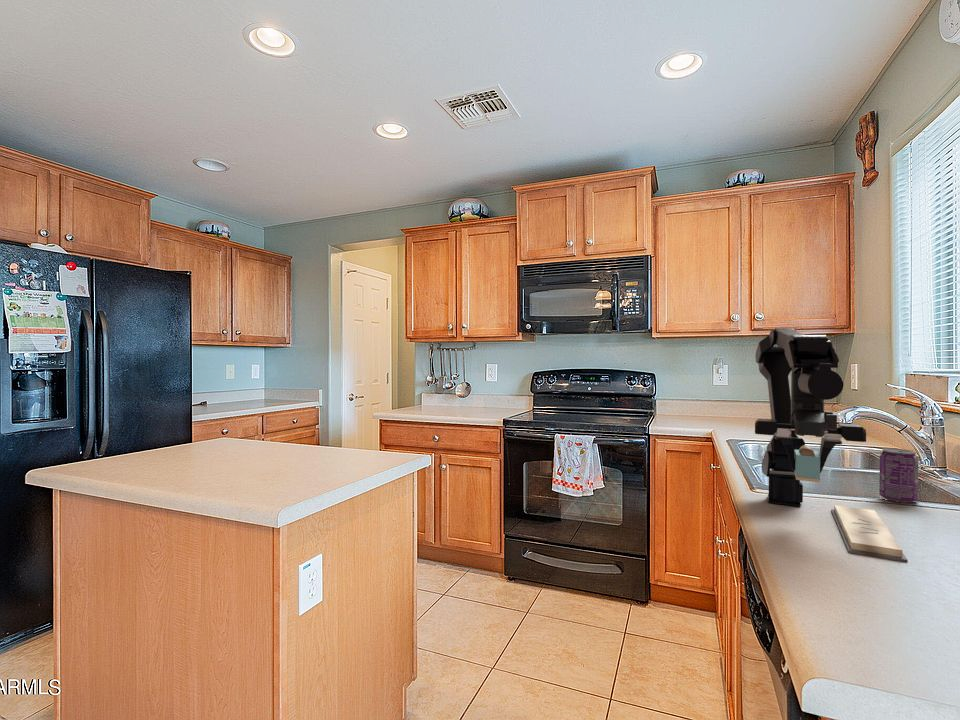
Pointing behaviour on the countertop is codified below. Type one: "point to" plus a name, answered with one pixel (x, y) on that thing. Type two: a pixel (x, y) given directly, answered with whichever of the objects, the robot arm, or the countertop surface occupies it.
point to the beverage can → (898, 475)
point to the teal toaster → (807, 464)
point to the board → (866, 533)
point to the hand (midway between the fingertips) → (806, 471)
